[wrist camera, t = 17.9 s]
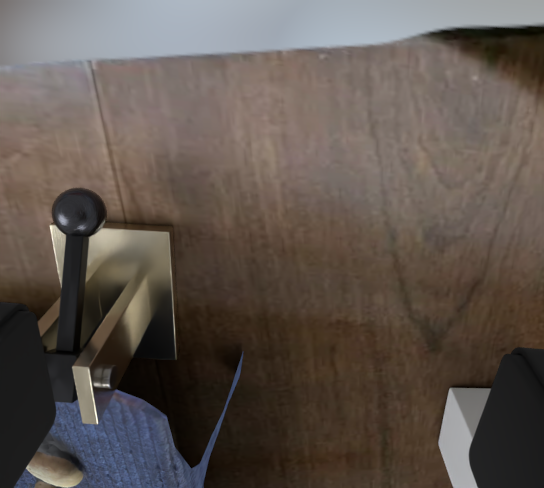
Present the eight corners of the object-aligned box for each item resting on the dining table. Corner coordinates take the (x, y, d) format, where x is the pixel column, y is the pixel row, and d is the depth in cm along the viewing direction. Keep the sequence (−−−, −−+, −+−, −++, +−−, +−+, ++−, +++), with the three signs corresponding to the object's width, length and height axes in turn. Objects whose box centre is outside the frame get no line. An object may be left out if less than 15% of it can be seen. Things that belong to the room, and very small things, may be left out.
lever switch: (69, 191, 30) (43, 181, 27) (116, 193, 30) (96, 184, 27) (51, 387, 29) (23, 402, 26) (100, 391, 29) (77, 406, 26)
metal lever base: (56, 218, 34) (-52, 302, 24) (173, 225, 34) (117, 313, 23) (78, 344, 39) (-3, 460, 29) (179, 351, 39) (136, 470, 29)
